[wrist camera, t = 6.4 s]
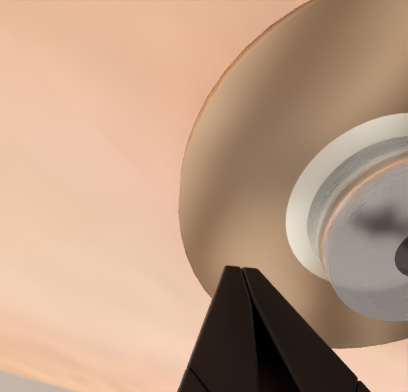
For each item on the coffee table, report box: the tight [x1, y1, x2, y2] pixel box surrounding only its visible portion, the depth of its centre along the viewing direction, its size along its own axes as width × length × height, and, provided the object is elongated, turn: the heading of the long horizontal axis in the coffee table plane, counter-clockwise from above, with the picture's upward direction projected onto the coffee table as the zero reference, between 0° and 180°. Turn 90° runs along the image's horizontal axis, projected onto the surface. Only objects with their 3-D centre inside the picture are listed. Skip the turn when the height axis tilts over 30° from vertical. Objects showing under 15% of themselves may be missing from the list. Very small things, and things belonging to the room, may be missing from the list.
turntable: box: [179, 0, 408, 349], centre depth 15 cm, size 20×20×7 cm
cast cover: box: [307, 136, 408, 321], centre depth 15 cm, size 8×8×3 cm
